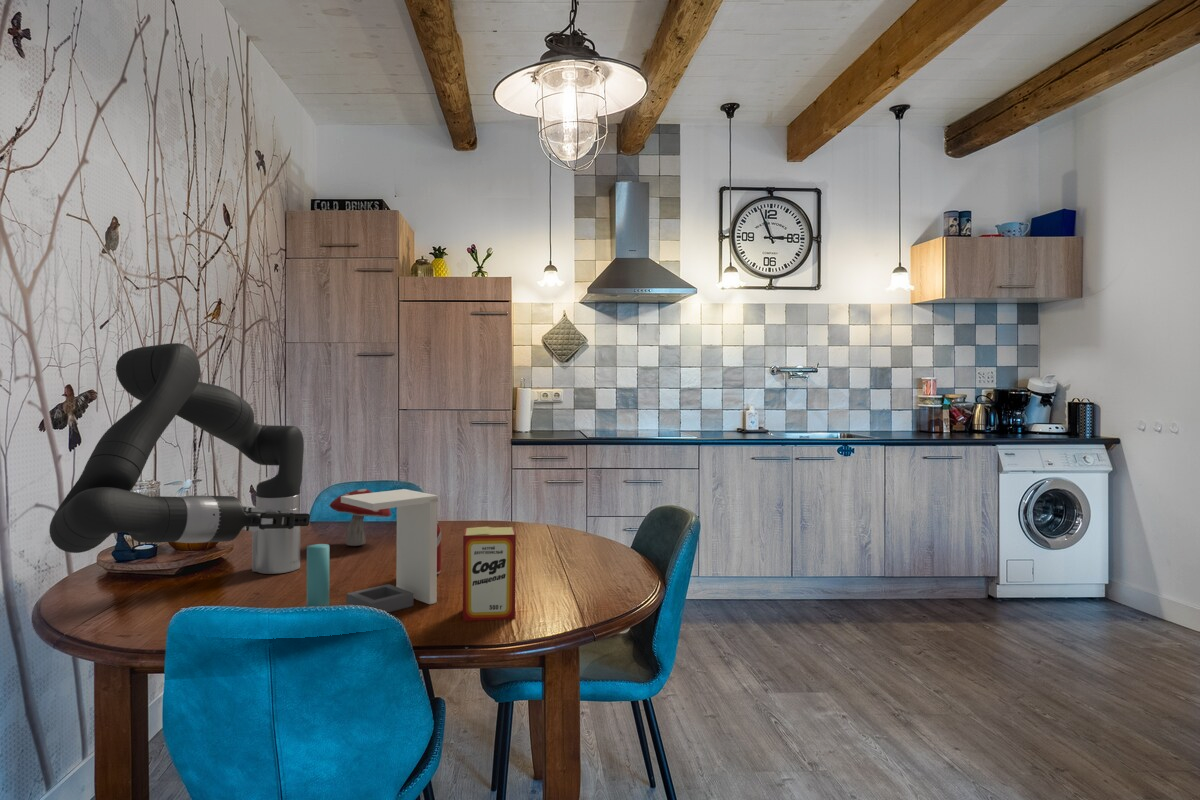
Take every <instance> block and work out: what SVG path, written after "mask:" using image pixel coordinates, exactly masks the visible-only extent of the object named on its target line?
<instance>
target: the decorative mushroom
mask: <svg viewBox="0 0 1200 800" xmlns="http://www.w3.org/2000/svg"><path fill="white" fill-rule="evenodd" d="M366 493H374V492H373V491H371V490H369V489H367V488H362V489H356V490H353V491H349V492H346V493H344V494H340V495H339V496H337V497H336V498H335V499H333V500H332V501H331V502H330V504H329V507H330V508H331V509H332V510H335V511H336V512H339V513H347V514H350V515H352V517H351V520H350V521H349V523H348V524H347V529H346V533H345V545H347V546H351V547H358V546H362V545H364V544H366V539H367V538H366V530H365V527H364V518H365V517H371V518H372V517H374V518H375V517H376V518H389V517H391V516H392V512H391V508H387V509H380V510H369V509H365V508H361V507H357V506H353V505H349V504H345V503H341V496H348V495H357V494H366Z"/></svg>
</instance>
